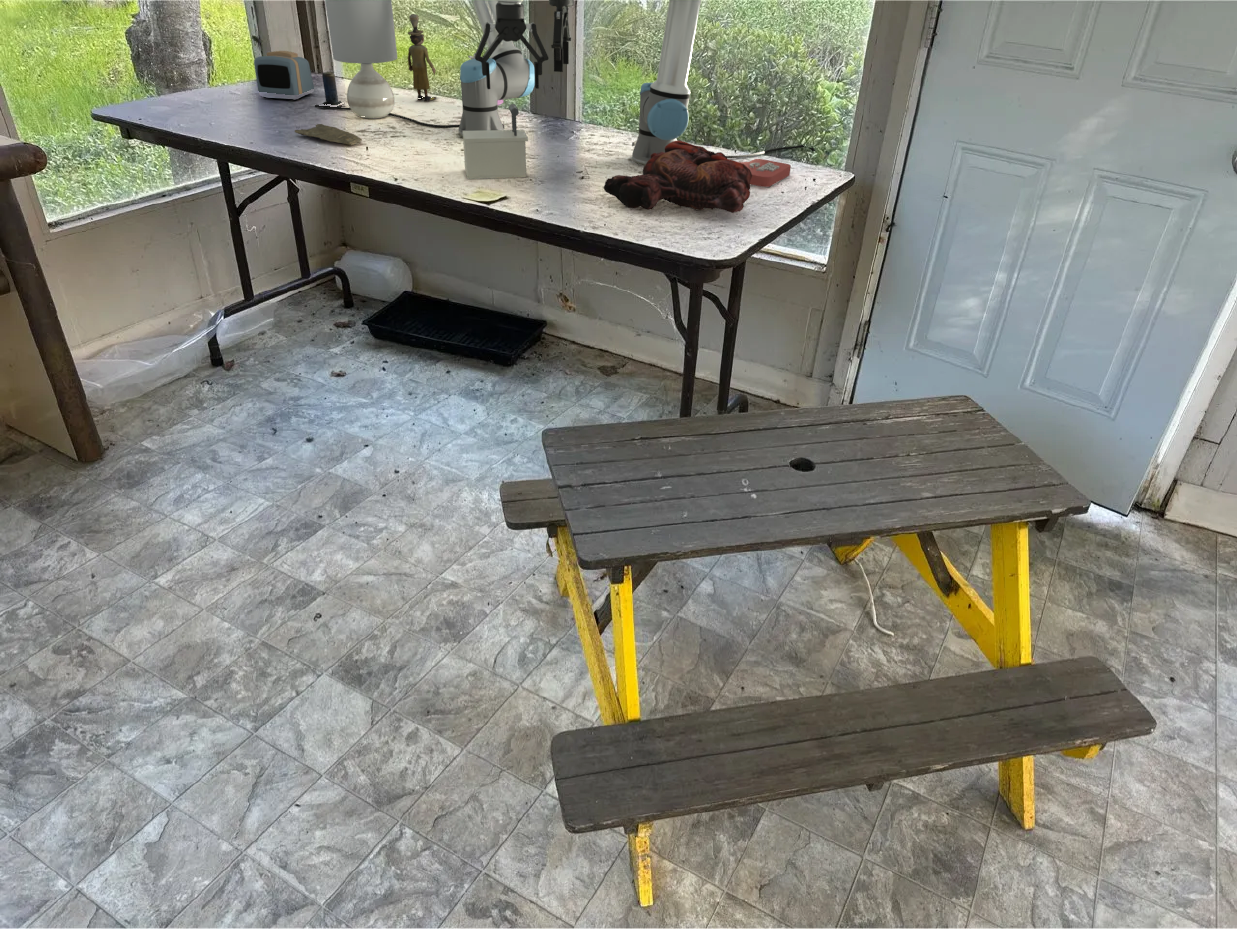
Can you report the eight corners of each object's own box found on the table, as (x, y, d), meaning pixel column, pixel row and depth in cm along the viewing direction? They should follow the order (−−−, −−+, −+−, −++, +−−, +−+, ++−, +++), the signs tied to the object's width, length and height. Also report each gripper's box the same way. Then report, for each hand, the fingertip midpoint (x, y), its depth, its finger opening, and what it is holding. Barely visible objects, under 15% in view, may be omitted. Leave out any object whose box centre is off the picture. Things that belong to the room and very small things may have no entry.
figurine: (443, 98, 335) (436, 13, 318) (431, 103, 327) (423, 15, 310) (418, 96, 337) (410, 11, 321) (406, 100, 330) (397, 13, 313)
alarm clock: (257, 98, 324) (248, 53, 316) (278, 90, 338) (270, 46, 329) (297, 101, 323) (289, 55, 314) (317, 93, 336) (310, 49, 327)
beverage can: (339, 109, 314) (334, 74, 307) (318, 108, 314) (312, 73, 307) (346, 104, 321) (341, 69, 314) (325, 103, 321) (320, 69, 314)
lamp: (416, 115, 310) (403, -11, 287) (372, 125, 294) (355, -7, 272) (373, 106, 319) (358, -16, 296) (328, 116, 304) (309, -13, 281)
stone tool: (292, 135, 280) (343, 148, 268) (291, 126, 278) (342, 139, 267) (320, 129, 287) (370, 142, 276) (318, 120, 286) (369, 133, 274)
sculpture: (769, 218, 227) (775, 169, 218) (687, 248, 212) (691, 197, 203) (663, 172, 252) (665, 126, 244) (583, 196, 237) (582, 148, 229)
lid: (523, 133, 251) (522, 102, 246) (528, 141, 243) (527, 109, 238) (462, 134, 247) (460, 103, 243) (465, 142, 240) (462, 110, 235)
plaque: (748, 154, 263) (793, 162, 256) (746, 167, 265) (791, 175, 258) (722, 166, 250) (769, 175, 244) (721, 179, 252) (767, 189, 246)
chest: (522, 168, 256) (521, 133, 251) (526, 177, 249) (525, 141, 243) (465, 170, 253) (462, 134, 247) (467, 179, 245) (465, 142, 240)
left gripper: (568, -5, 244) (568, 75, 257) (578, -13, 265) (578, 61, 277) (542, -6, 245) (543, 74, 257) (554, -14, 265) (555, 60, 277)
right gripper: (463, 3, 222) (469, 90, 234) (557, 4, 227) (558, 90, 238) (461, 0, 228) (467, 85, 240) (553, 1, 233) (554, 84, 244)
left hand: (561, 67), depth 267 cm, fingers open, 13 cm apart
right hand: (512, 88), depth 239 cm, fingers open, 13 cm apart
